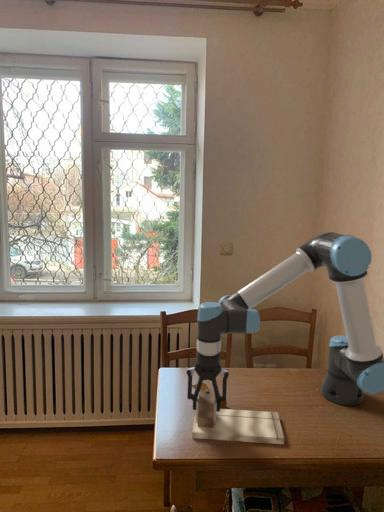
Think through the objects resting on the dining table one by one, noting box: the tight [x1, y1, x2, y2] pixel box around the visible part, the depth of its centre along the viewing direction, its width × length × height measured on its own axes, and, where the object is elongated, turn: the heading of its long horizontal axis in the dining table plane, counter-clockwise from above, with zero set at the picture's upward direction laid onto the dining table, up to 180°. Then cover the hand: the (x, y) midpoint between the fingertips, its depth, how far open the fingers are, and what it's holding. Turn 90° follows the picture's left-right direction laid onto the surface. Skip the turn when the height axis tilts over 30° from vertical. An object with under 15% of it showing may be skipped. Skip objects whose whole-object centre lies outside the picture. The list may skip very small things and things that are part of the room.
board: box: [191, 408, 285, 445], centre depth 124 cm, size 28×14×2 cm, turn 86°
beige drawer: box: [198, 390, 215, 428], centre depth 124 cm, size 5×8×9 cm, turn 176°
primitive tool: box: [192, 382, 227, 409], centre depth 144 cm, size 19×6×4 cm, turn 31°
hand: (206, 418), depth 125 cm, fingers closed on beige drawer, 5 cm apart
